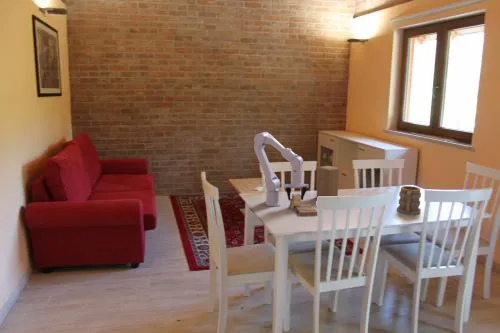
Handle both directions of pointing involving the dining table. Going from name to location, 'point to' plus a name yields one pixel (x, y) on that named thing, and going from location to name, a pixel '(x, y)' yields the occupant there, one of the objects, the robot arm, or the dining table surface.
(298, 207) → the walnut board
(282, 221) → the dining table surface
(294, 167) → the robot arm
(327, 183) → the wooden block
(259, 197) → the dining table surface
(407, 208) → the tankard
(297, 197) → the tan wood block
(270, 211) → the dining table surface
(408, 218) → the dining table surface
